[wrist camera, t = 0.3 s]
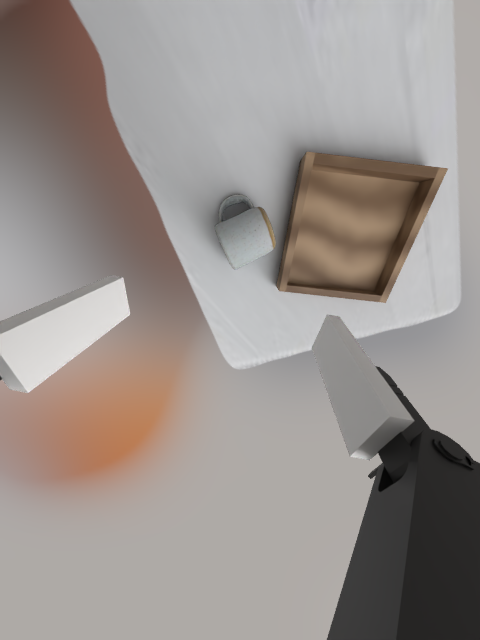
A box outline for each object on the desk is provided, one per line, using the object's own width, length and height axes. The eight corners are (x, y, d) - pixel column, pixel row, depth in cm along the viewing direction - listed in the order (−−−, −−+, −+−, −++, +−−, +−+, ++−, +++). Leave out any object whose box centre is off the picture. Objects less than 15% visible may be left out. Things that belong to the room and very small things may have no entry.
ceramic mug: (274, 248, 34) (281, 250, 27) (235, 267, 36) (232, 274, 29) (251, 186, 30) (252, 169, 23) (208, 211, 32) (197, 202, 25)
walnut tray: (300, 161, 29) (306, 151, 25) (425, 175, 29) (447, 168, 26) (276, 286, 37) (279, 290, 34) (373, 297, 37) (385, 302, 34)
